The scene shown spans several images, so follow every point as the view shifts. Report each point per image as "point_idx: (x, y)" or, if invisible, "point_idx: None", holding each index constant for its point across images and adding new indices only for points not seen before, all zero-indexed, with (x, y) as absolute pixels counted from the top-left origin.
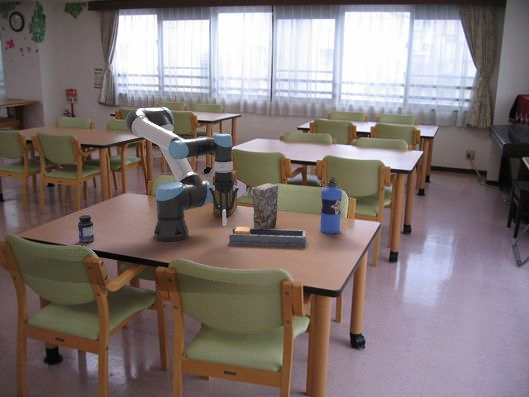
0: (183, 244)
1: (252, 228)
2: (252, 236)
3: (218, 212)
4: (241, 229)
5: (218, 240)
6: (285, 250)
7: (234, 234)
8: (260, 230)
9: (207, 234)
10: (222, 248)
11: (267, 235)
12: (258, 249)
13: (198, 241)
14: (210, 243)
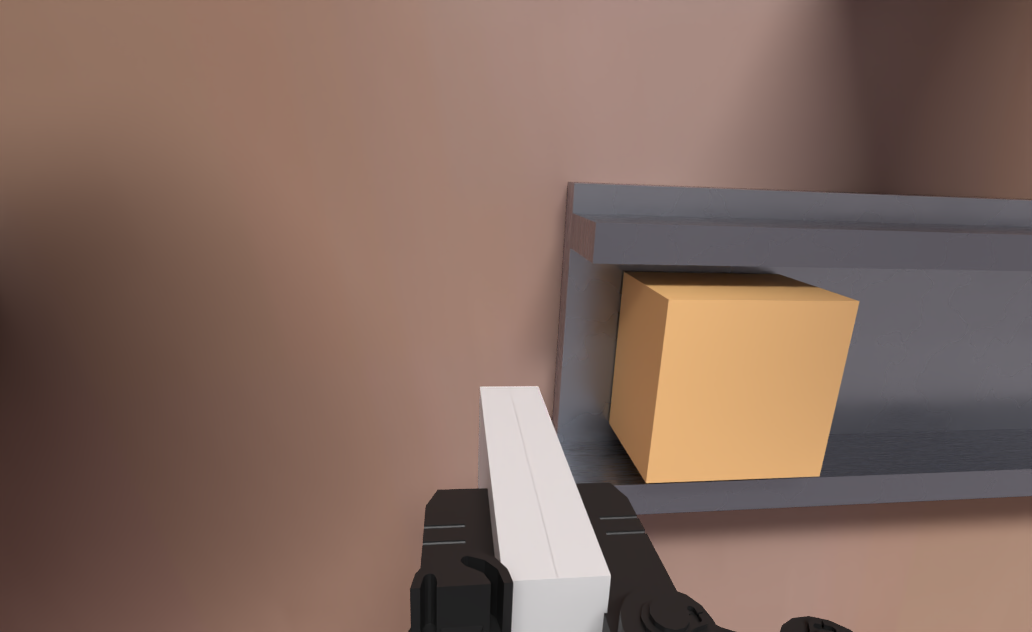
0: (58, 545)
1: (865, 239)
2: (825, 498)
3: None
4: (733, 417)
5: (417, 375)
6: (1012, 541)
7: (632, 504)
8: (946, 267)
9: (217, 159)
10: None
11: (989, 482)
12: (810, 554)
13: (194, 434)
14: (351, 476)
